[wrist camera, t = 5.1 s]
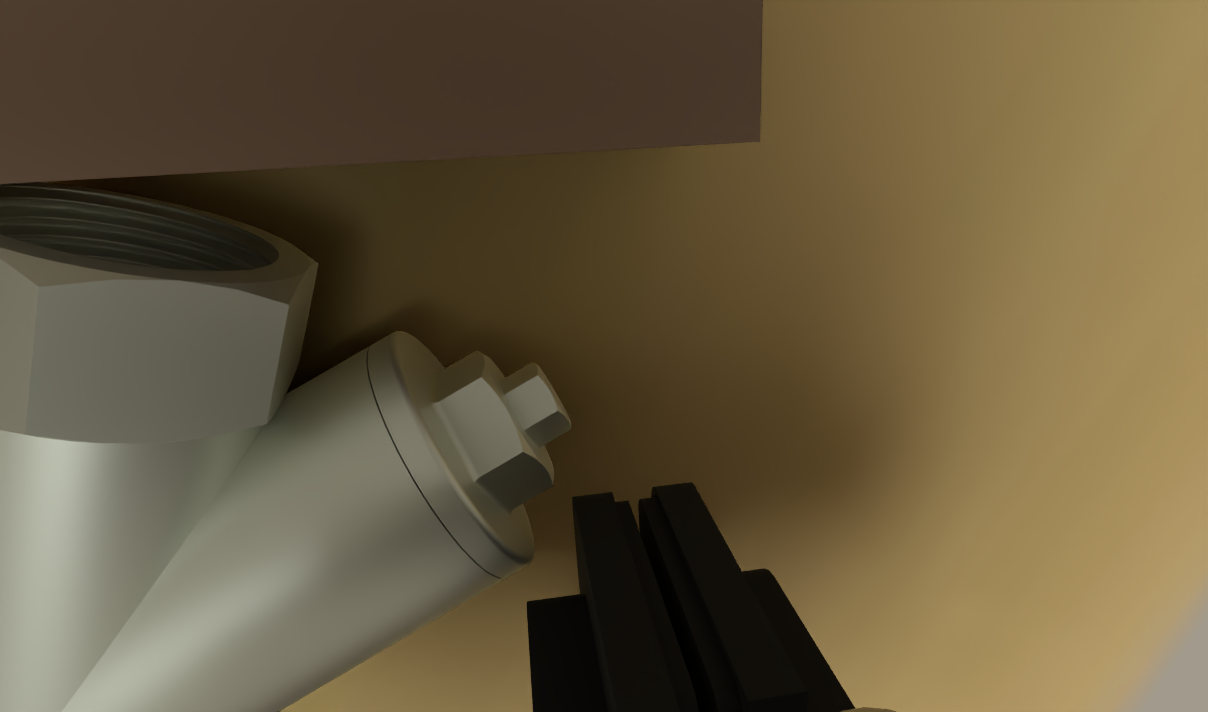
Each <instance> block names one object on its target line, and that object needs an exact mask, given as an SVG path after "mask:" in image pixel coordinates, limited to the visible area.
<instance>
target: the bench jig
mask: <svg viewBox="0 0 1208 712" xmlns="http://www.w3.org/2000/svg"><path fill="white" fill-rule="evenodd" d="M762 8H763V0H0V184H11V183H28V182H46V181H64V180H82V179H100V178H118V177H136V176H154V175H172V174H190V173H208V172H225V171H243V170H261V169H279V168H297V167H315V166H333V165H351V164H369V163H387V162H405V161H423V160H441V159H458V158H476V157H494V156H512V155H530V154H548V153H566V152H584V151H602V150H620V149H638V148H656V147H673V146H691V145H709V144H727V143H745V142H760V111H761V60H762Z"/></svg>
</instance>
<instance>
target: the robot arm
mask: <svg viewBox="0 0 1208 712" xmlns="http://www.w3.org/2000/svg"><path fill="white" fill-rule="evenodd" d="M572 505H573V518H574V530H575V541H576V553H577V565H578V577H579V588H580V594H578V595H571V596H564V597H556V598H549V599H542V600H535V601H528V602H527V618H528V635H529V652H530V668H531V685H532V701H533V712H896V711H893V710H889V709H880V708H868V707H863V708H857V709H855V707H854V706H853V704H852V702H851V701H850V699H849V697H848V696H847V694H846V692H845V691H844V689H843V688H842V686H841V684H840V683H839V681H838V679H837V678H836V676H835V675H834V673H833V671H832V670H831V668H830V666H829V665H828V663H827V662H826V660H825V658H824V657H823V655H822V653H821V652H820V650H819V649H818V647H817V645H816V644H815V642H814V640H813V639H812V637H811V636H810V634H809V632H808V631H807V629H806V627H805V626H804V624H803V623H802V621H801V619H800V618H799V616H798V614H797V613H796V611H795V610H794V608H793V606H792V605H791V603H790V601H789V600H788V598H787V597H786V595H785V593H784V592H783V590H782V588H781V587H780V585H779V584H778V582H777V580H776V579H775V577H774V576H773V575H772V573H771V572H770V571H769V570H767V569H757V570H750V571H743V572H742V571H741V569H740V567H739V565H738V564H737V562H736V560H735V558H734V556H733V555H732V553H731V551H730V549H729V547H728V545H727V544H726V542H725V540H724V538H723V536H722V535H721V533H720V531H719V529H718V527H717V525H716V524H715V522H714V520H713V518H712V516H711V515H710V513H709V511H708V509H707V507H706V505H705V504H704V502H703V500H702V498H701V496H700V494H699V493H698V491H697V489H696V487H695V485H694V484H693V483H692V482H690V483H682V484H674V485H665V486H657V487H653V488H652V493H651V498H645V499H639V504H638V510H639V529H640V532H639V529H638V527H637V524H636V521H635V518H634V515H633V512H632V509H631V506H630V504H629V501H622V502H615V500H614V497H613V494H612V492H609V493H601V494H593V495H585V496H577V497H572Z"/></svg>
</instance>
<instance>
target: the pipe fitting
mask: <svg viewBox="0 0 1208 712" xmlns="http://www.w3.org/2000/svg"><path fill="white" fill-rule="evenodd" d="M318 265H319V264H318V263H317V262H316V261H314V260H313V259H312V258H310V257H309V256H308V255H306V254H305V253H304V252H302V251H301V250H300V249H298V248H297V247H295V246H294V245H292V244H291V243H289V242H287V241H285V240H283V239H281V238H279V237H277V236H275V235H273V234H271V233H268V232H266V231H263V230H261V229H258V228H256V227H253V226H250V225H247V224H245V223H242V222H239V221H236V220H232V219H229V218H226V217H223V216H219V215H216V214H212V213H209V212H205V211H201V210H197V209H194V208H190V207H186V206H182V205H177V204H173V203H169V202H164V201H160V200H155V199H150V198H145V197H140V196H135V195H129V194H124V193H118V192H112V191H106V190H99V189H92V188H85V187H78V186H70V185H61V184H52V183H41V182H28V183H11V184H0V712H279V711H281V710H282V709H284V708H286V707H287V706H289V705H291V704H293V703H294V702H296V701H298V700H299V699H301V698H303V697H304V696H306V695H308V694H310V693H311V692H313V691H315V690H316V689H318V688H320V687H321V686H323V685H325V684H327V683H328V682H330V681H332V680H333V679H335V678H337V677H338V676H340V675H342V674H344V673H345V672H347V671H349V670H350V669H352V668H354V667H355V666H357V665H359V664H361V663H362V662H364V661H366V660H367V659H369V658H371V657H372V656H374V655H376V654H378V653H379V652H381V651H383V650H384V649H386V648H388V647H389V646H391V645H393V644H395V643H396V642H398V641H400V640H401V639H403V638H405V637H407V636H408V635H410V634H412V633H413V632H415V631H417V630H418V629H420V628H422V627H424V626H425V625H427V624H429V623H430V622H432V621H434V620H435V619H437V618H439V617H441V616H442V615H444V614H446V613H447V612H449V611H451V610H452V609H454V608H456V607H458V606H459V605H461V604H463V603H464V602H466V601H468V600H469V599H471V598H473V597H475V596H476V595H478V594H480V593H481V592H483V591H485V590H487V589H488V588H490V587H492V586H493V585H495V584H497V583H498V582H500V581H502V580H504V579H505V578H507V577H509V576H510V575H512V574H514V573H515V572H517V571H519V570H520V569H522V568H524V567H526V566H527V565H529V564H530V563H531V561H532V560H533V557H534V552H535V545H534V537H533V532H532V529H531V525H530V522H529V518H528V515H527V512H526V510H525V507H524V504H523V503H525V502H526V501H528V500H530V499H531V498H533V497H535V496H536V495H538V494H540V493H542V492H543V491H545V490H547V489H548V488H550V487H552V486H553V481H554V468H553V465H552V462H551V459H550V457H549V454H548V452H547V450H546V448H545V444H547V443H549V442H550V441H552V440H554V439H555V438H557V437H559V436H561V435H562V434H564V433H566V432H567V431H569V430H571V420H570V418H569V416H568V414H567V412H566V410H565V408H564V406H563V404H562V403H561V401H560V399H559V397H558V396H557V394H556V392H555V390H554V389H553V387H552V385H551V384H550V382H549V380H548V379H547V377H546V376H545V374H544V373H543V371H542V370H541V368H540V367H539V366H538V365H537V364H535V363H534V362H532V363H530V364H528V365H526V366H525V367H523V368H521V369H520V370H518V371H516V372H514V373H513V374H511V375H509V376H507V377H506V378H505V377H504V375H503V374H502V372H501V371H500V370H499V368H498V367H497V366H496V365H495V363H494V362H493V361H492V360H491V359H490V358H489V357H488V356H486V355H484V354H483V353H481V352H479V351H477V350H476V351H475V352H473V353H471V354H469V355H468V356H466V357H464V358H463V359H461V360H459V361H457V362H456V363H454V364H452V365H450V366H449V367H447V368H444V367H443V365H442V364H441V363H440V361H439V360H438V359H437V358H436V357H435V356H434V355H433V354H432V352H431V351H430V350H429V349H428V348H427V347H426V346H425V345H424V344H422V343H421V342H420V341H419V340H418V339H417V338H415V337H414V336H412V335H410V334H408V333H406V332H402V331H396V332H393V333H391V334H390V335H388V336H386V337H384V338H383V339H381V340H379V341H377V342H376V343H374V344H372V345H371V346H369V347H367V348H365V349H364V350H362V351H360V352H359V353H357V354H355V355H353V356H352V357H350V358H348V359H346V360H345V361H343V362H341V363H339V364H338V365H336V366H334V367H332V368H331V369H329V370H327V371H326V372H324V373H322V374H320V375H319V376H317V377H315V378H313V379H312V380H310V381H308V382H306V383H305V384H303V385H301V386H300V387H298V388H296V389H294V390H293V391H291V392H289V393H287V391H288V388H289V386H290V384H291V382H292V379H293V377H294V374H295V372H296V369H297V367H298V364H299V362H300V357H301V351H302V346H303V341H304V336H305V331H306V326H307V321H308V316H309V311H310V306H311V301H312V296H313V291H314V286H315V280H316V275H317V270H318ZM286 393H287V394H286Z"/></svg>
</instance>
